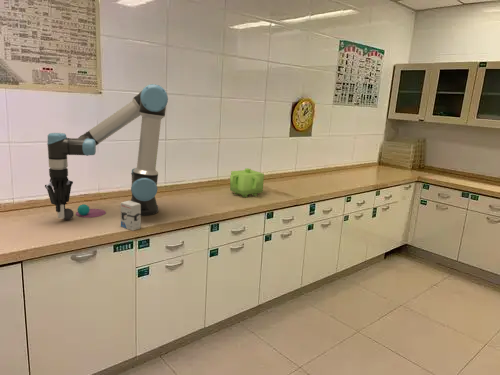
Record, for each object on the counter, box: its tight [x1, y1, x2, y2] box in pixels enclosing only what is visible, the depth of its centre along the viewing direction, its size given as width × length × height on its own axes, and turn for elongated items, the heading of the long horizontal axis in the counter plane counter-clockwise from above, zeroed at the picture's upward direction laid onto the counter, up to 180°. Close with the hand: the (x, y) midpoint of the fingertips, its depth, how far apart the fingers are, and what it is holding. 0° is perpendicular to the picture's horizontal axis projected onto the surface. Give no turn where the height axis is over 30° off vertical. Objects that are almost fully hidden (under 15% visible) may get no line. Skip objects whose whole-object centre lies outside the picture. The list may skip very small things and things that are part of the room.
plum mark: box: [75, 208, 107, 218], centre depth 191 cm, size 14×14×1 cm
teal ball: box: [76, 203, 91, 216], centre depth 186 cm, size 6×6×6 cm
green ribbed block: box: [229, 168, 265, 198], centre depth 246 cm, size 25×23×17 cm
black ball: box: [62, 207, 75, 221], centre depth 178 cm, size 6×6×6 cm
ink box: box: [120, 200, 142, 231], centre depth 173 cm, size 8×5×12 cm, turn 56°
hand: (61, 217), depth 175 cm, fingers closed
